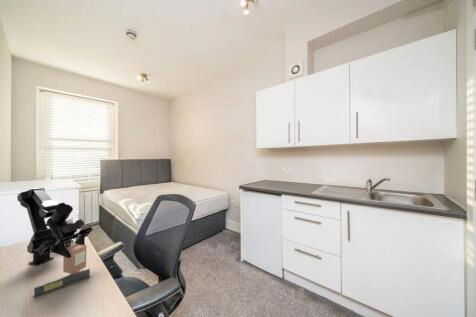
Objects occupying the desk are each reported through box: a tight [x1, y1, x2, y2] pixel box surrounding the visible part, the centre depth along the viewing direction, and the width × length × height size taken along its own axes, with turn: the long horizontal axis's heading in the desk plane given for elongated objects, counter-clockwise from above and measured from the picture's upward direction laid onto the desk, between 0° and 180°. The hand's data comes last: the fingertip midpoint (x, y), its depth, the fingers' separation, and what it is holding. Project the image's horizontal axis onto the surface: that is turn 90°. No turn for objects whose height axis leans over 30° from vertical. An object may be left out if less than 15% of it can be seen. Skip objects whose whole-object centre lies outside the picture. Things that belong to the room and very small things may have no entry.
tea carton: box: [62, 244, 87, 275], centre depth 81 cm, size 6×6×10 cm
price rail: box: [33, 268, 91, 299], centre depth 73 cm, size 2×16×4 cm, turn 136°
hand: (77, 253), depth 80 cm, fingers closed on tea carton, 5 cm apart
